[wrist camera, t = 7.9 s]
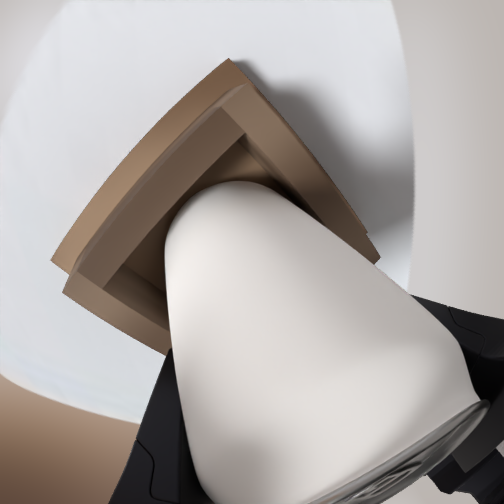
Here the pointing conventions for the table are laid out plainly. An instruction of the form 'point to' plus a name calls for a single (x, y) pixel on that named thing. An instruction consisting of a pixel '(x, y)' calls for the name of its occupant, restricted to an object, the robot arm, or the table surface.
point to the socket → (181, 190)
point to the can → (303, 359)
